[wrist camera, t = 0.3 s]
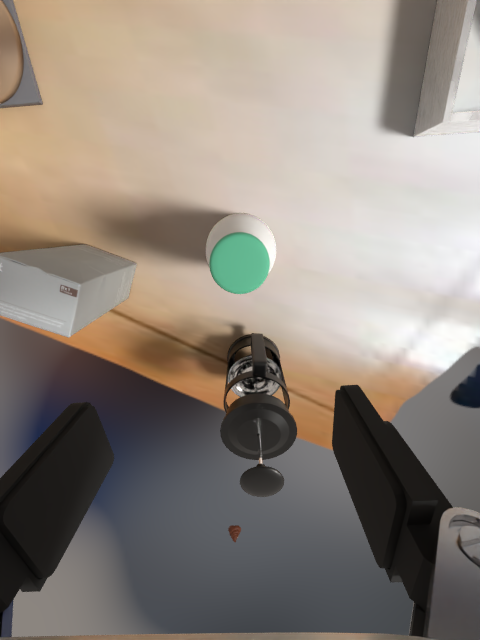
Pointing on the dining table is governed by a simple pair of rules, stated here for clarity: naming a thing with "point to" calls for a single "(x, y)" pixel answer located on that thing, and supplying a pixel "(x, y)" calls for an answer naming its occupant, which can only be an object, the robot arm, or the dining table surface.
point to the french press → (257, 413)
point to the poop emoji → (234, 531)
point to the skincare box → (62, 286)
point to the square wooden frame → (446, 72)
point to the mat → (28, 85)
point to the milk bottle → (240, 252)
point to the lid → (9, 55)
